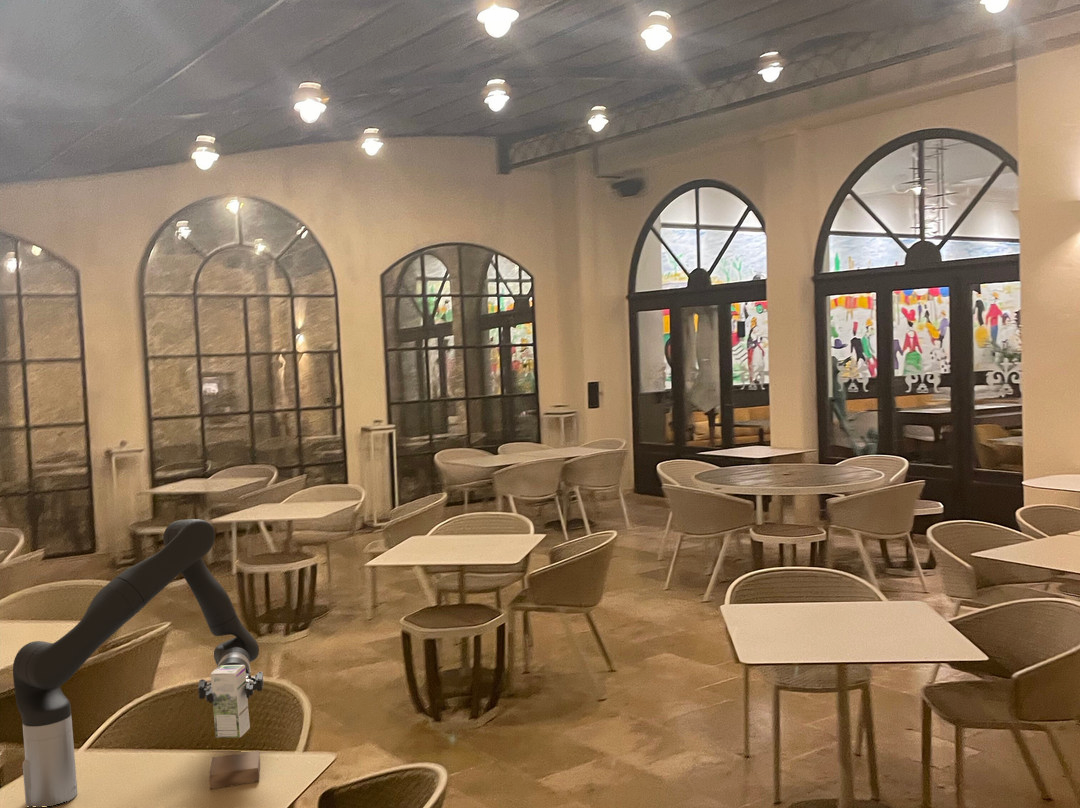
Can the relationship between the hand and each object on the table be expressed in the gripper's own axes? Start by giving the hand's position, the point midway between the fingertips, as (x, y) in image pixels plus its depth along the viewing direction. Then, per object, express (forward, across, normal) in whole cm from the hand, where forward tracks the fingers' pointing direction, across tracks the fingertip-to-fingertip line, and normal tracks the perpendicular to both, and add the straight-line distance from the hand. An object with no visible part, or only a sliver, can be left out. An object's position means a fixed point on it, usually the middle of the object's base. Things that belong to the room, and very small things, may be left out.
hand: (229, 696), depth 208 cm
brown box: (-2, 0, +18) cm, 18 cm away
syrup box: (-2, 0, +9) cm, 10 cm away
